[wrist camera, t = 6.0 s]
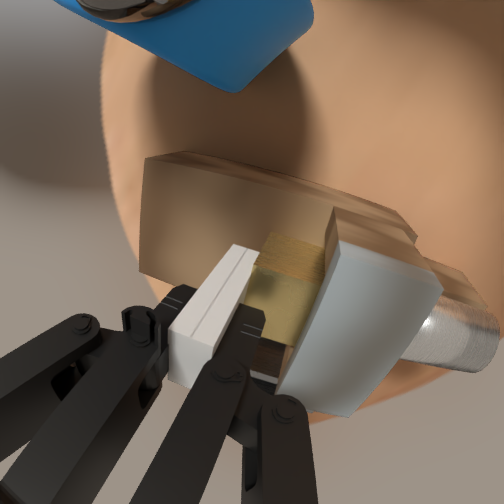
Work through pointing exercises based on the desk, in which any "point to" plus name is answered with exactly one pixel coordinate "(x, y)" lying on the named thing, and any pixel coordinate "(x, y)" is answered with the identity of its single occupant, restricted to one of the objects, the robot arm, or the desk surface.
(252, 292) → the tan rectangular block
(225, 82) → the alarm clock
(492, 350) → the axle
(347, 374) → the beam
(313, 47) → the desk surface
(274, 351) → the grey slotted plate stand
